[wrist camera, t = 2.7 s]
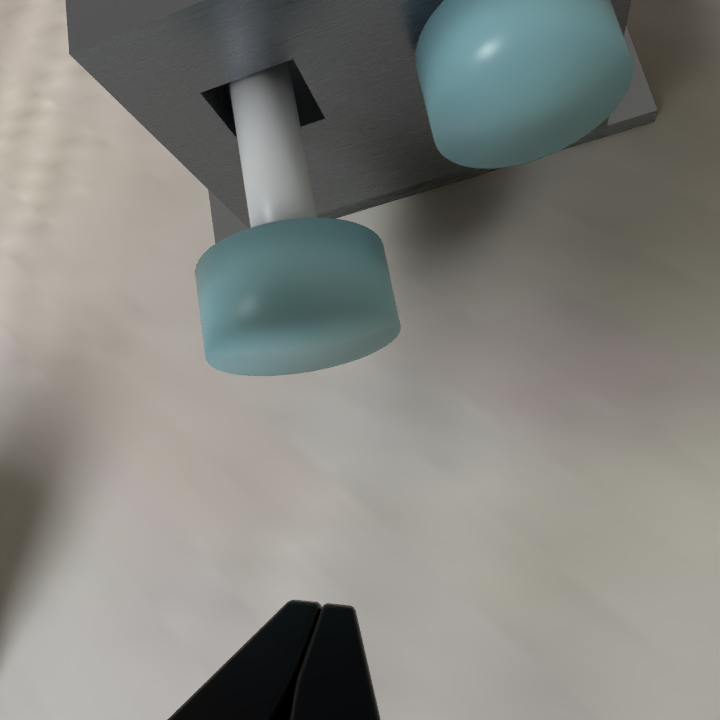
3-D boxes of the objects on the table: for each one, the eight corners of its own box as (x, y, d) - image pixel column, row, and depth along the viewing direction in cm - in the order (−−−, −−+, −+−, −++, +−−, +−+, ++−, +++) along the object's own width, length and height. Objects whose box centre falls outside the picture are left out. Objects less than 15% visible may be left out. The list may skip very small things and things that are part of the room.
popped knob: (416, 345, 16) (374, 289, 12) (256, 386, 17) (165, 347, 13) (360, 87, 18) (307, -37, 14) (219, 136, 19) (132, 32, 15)
